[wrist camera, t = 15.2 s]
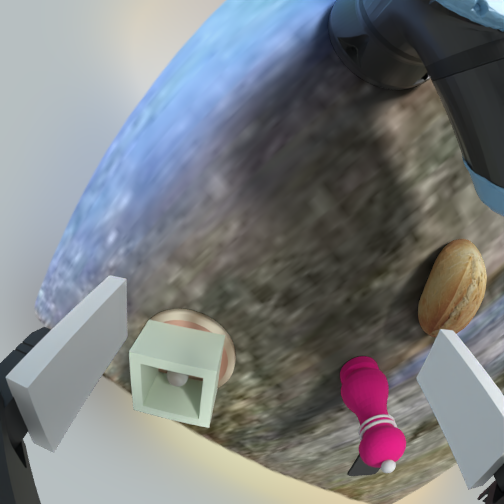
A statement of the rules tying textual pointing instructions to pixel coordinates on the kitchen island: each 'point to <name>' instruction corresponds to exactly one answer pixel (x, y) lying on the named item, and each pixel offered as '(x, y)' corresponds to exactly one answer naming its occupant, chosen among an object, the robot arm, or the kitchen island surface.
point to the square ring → (177, 360)
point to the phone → (361, 468)
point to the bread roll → (453, 289)
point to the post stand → (204, 324)
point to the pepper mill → (372, 413)
